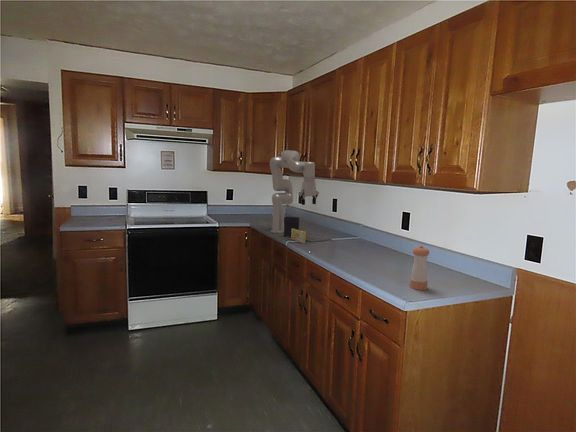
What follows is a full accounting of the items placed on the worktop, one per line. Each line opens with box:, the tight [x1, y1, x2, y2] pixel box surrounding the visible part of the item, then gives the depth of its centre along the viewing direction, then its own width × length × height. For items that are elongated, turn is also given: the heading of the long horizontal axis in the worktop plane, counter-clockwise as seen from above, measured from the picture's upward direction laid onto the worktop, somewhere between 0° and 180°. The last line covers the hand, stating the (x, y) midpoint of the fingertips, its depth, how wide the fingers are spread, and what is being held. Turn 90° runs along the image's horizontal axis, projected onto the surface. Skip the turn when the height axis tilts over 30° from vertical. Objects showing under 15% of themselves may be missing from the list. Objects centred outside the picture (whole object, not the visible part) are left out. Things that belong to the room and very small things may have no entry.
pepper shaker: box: [409, 245, 430, 291], centre depth 164 cm, size 7×7×19 cm
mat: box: [305, 235, 332, 244], centre depth 268 cm, size 12×19×1 cm, turn 124°
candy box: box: [290, 229, 307, 244], centre depth 260 cm, size 16×2×8 cm, turn 32°
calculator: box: [283, 216, 300, 238], centre depth 277 cm, size 11×4×15 cm, turn 76°
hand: (308, 204), depth 256 cm, fingers open, 9 cm apart
